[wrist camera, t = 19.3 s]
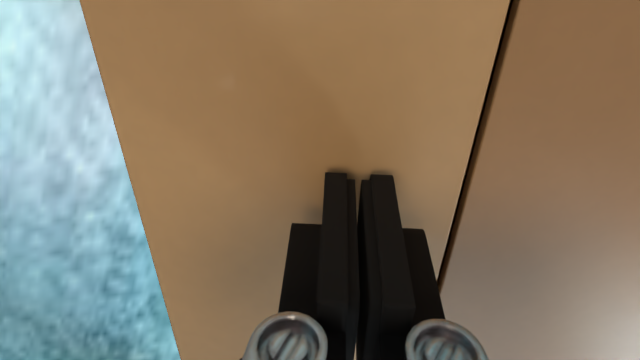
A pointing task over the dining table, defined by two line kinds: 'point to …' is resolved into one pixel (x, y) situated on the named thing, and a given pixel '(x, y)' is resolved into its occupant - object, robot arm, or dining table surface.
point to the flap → (282, 131)
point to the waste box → (553, 190)
